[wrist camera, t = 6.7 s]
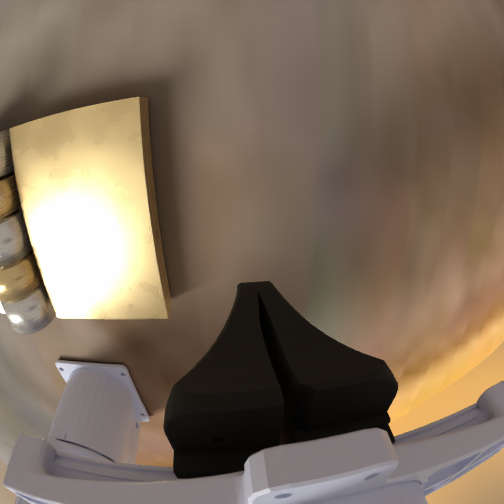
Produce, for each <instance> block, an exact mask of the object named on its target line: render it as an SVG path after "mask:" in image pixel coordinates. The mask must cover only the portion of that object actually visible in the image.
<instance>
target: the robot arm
mask: <svg viewBox="0 0 504 504" xmlns="http://www.w3.org/2000/svg"><path fill="white" fill-rule="evenodd" d="M237 288H238V289H237V295H236V299H235V302H234V305H233V308H232V310H231V313H230V315H229V317H228V320H227V322H226V324H225V326H224V328H223V329H222V331H221V333H220V335H219V336H218V338H217V339H216V341H215V342H214V344H213V345H212V346H211V348H210V349H209V351H208V352H207V353H206V354H205V356H204V357H203V358H202V359H201V360H200V361H199V362H198V363H197V364H196V365H195V366H194V367H193V369H192V370H190V371H189V372H188V373H187V374H186V375H185V376H184V377H182V378H181V379H180V380H179V381H178V382H177V383H175V384H174V386H173V388H172V391H171V393H170V396H169V399H168V402H167V406H166V410H165V417H164V432H165V434H166V436H167V438H168V440H169V442H170V444H171V446H172V448H173V450H174V462H173V467H160V466H146V465H136V464H135V461H136V453H137V446H138V438H139V432H140V425H141V421H149V419H150V417H149V415H148V413H147V411H146V409H145V407H144V405H143V403H142V401H141V399H140V397H139V394H138V392H137V390H136V388H135V386H134V383H133V381H132V379H131V377H130V374H129V372H128V370H127V368H126V367H125V366H124V365H118V364H100V363H86V362H75V361H64V360H57V361H56V363H55V364H56V366H57V368H58V370H59V371H60V373H61V375H62V377H63V378H64V380H65V381H66V386H65V388H64V391H63V394H62V396H61V399H60V402H59V404H58V407H57V410H56V413H55V416H54V419H53V422H52V425H51V428H50V431H49V434H48V437H47V440H44V439H42V438H39V437H35V436H32V435H28V434H25V433H22V432H20V433H19V434H18V437H17V440H16V442H15V445H14V448H13V451H12V454H11V458H10V461H9V464H8V468H7V471H6V474H5V478H4V481H3V485H4V486H5V487H6V488H8V489H9V490H11V491H12V492H14V493H15V494H17V496H16V500H15V504H428V503H427V501H426V498H425V496H426V495H428V494H430V493H432V492H434V491H436V490H438V489H440V488H442V487H443V486H445V485H447V484H448V483H451V482H452V481H454V480H456V479H457V478H459V477H461V476H462V475H464V474H466V473H467V472H469V471H470V470H472V469H474V468H475V467H477V466H478V465H480V464H481V463H483V462H484V461H486V460H487V459H489V458H490V457H492V456H493V455H495V454H496V453H498V452H499V451H500V450H501V449H502V448H503V447H504V381H501V382H499V383H498V384H496V385H494V386H492V387H490V388H488V389H487V390H486V391H485V392H484V393H483V394H482V395H481V396H480V398H479V399H478V401H477V403H475V404H473V405H471V406H469V407H467V408H465V409H463V410H460V411H459V412H456V413H454V414H452V415H449V416H447V417H445V418H443V419H440V420H438V421H435V422H433V423H430V424H428V425H425V426H423V427H420V428H418V429H415V430H412V431H409V432H406V433H403V434H401V435H398V436H395V437H394V436H393V434H392V432H391V429H390V427H389V425H388V423H390V417H389V415H388V413H387V411H388V409H389V407H390V405H391V403H392V402H393V400H394V398H395V396H396V393H397V391H398V383H397V381H396V379H395V377H394V375H393V374H392V372H391V370H390V369H389V367H388V366H387V364H386V363H385V361H384V360H381V359H378V358H375V357H372V356H369V355H367V354H364V353H361V352H359V351H356V350H354V349H352V348H350V347H348V346H346V345H344V344H342V343H340V342H338V341H336V340H334V339H333V338H331V337H329V336H328V335H326V334H324V333H323V332H321V331H320V330H319V329H317V328H316V327H314V326H313V325H312V324H310V323H309V322H308V321H307V320H306V319H305V318H303V317H302V316H301V315H300V314H299V313H298V312H297V311H296V310H295V309H294V308H293V307H292V306H291V305H290V304H289V303H288V302H287V301H286V300H285V299H284V297H283V296H282V295H281V294H280V293H279V292H278V290H277V289H276V288H275V287H274V285H273V284H272V283H271V282H270V281H264V282H248V283H240V284H239V285H237Z"/></svg>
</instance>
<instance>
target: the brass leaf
mask: <svg viewBox="0 0 504 504" xmlns="http://www.w3.org/2000/svg"><path fill="white" fill-rule="evenodd" d="M9 130H10V140H11V149H12V156H13V163H14V170H15V173H11V174H7V175H3V176H1V177H0V219H1V218H3V217H5V216H7V215H9V214H11V213H13V212H14V211H16V210H17V209H19V208H20V207H21V206H22V210H23V214H24V219H25V223H26V226H27V230H28V234H29V238H30V241H31V245H32V250H31V251H30V252H29V253H28V254H27V255H25V256H24V257H23V258H21V259H19V260H18V261H16V262H14V263H12V264H9V265H7V266H4V267H1V268H0V301H2V302H9V301H14V300H17V299H19V298H22V297H24V296H26V295H27V294H29V293H30V292H32V291H33V290H34V289H35V288H36V287H37V286H38V285H39V284H40V282H41V280H42V279H43V281H44V284H45V287H46V290H47V292H48V295H49V297H50V300H51V302H52V305H53V307H54V310H55V312H56V315H57V317H58V318H80V319H168V317H169V312H170V307H171V302H172V300H171V295H170V290H169V284H168V278H167V273H166V267H165V260H164V254H163V248H162V241H161V234H160V227H159V219H158V211H157V203H156V195H155V186H154V176H153V165H152V154H151V141H150V126H149V108H148V97H134V98H127V99H121V100H116V101H110V102H105V103H100V104H95V105H91V106H86V107H82V108H77V109H73V110H69V111H65V112H61V113H58V114H54V115H50V116H47V117H44V118H40V119H37V120H34V121H30V122H27V123H24V124H21V125H18V126H15V127H12V128H10V129H9Z"/></svg>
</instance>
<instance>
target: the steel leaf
mask: <svg viewBox="0 0 504 504" xmlns="http://www.w3.org/2000/svg"><path fill="white" fill-rule="evenodd" d="M12 171H14V163H13V156H12V149H11V140H10V130H9V129H8V130H3V131H0V177H1V176H3V175H6V174H8V173H10V172H12ZM31 250H32V245H31V241H30V238H29V234H28V230H27V226H26V223H25V219H24V214H23V210H22V206H21V207H20V208H19V209H17V210H16V211H14V212H13V213H11V214H9V215H7V216H5V217H3V218H1V219H0V268H1V267H4V266H7V265H9V264H12V263H14V262H16V261H18V260H19V259H21V258H23V257H24V256H25V255H27V254H28V253H29V252H30V251H31ZM0 313H5V314H6V316H7V318H8V320H9V322H10V324H11V326H12V328H13V330H14V331H15V332H16V333H19V334H31V333H35V332H37V331H39V330H41V329H43V328H44V327H46V326H47V325H48V324H49V323H50V322H51V321H52V320H53V318H54V317H55V314H56V312H55V310H54V307H53V305H52V302H51V300H50V297H49V295H48V292H47V290H46V287H45V284H44V281H43V279H42V280H41V282H40V284H39V285H38V286H37V287H36V288H35V289H34V290H33V291H32V292H30V293H29V294H27V295H26V296H24V297H22V298H19V299H17V300H14V301H9V302H2V301H0Z"/></svg>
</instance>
